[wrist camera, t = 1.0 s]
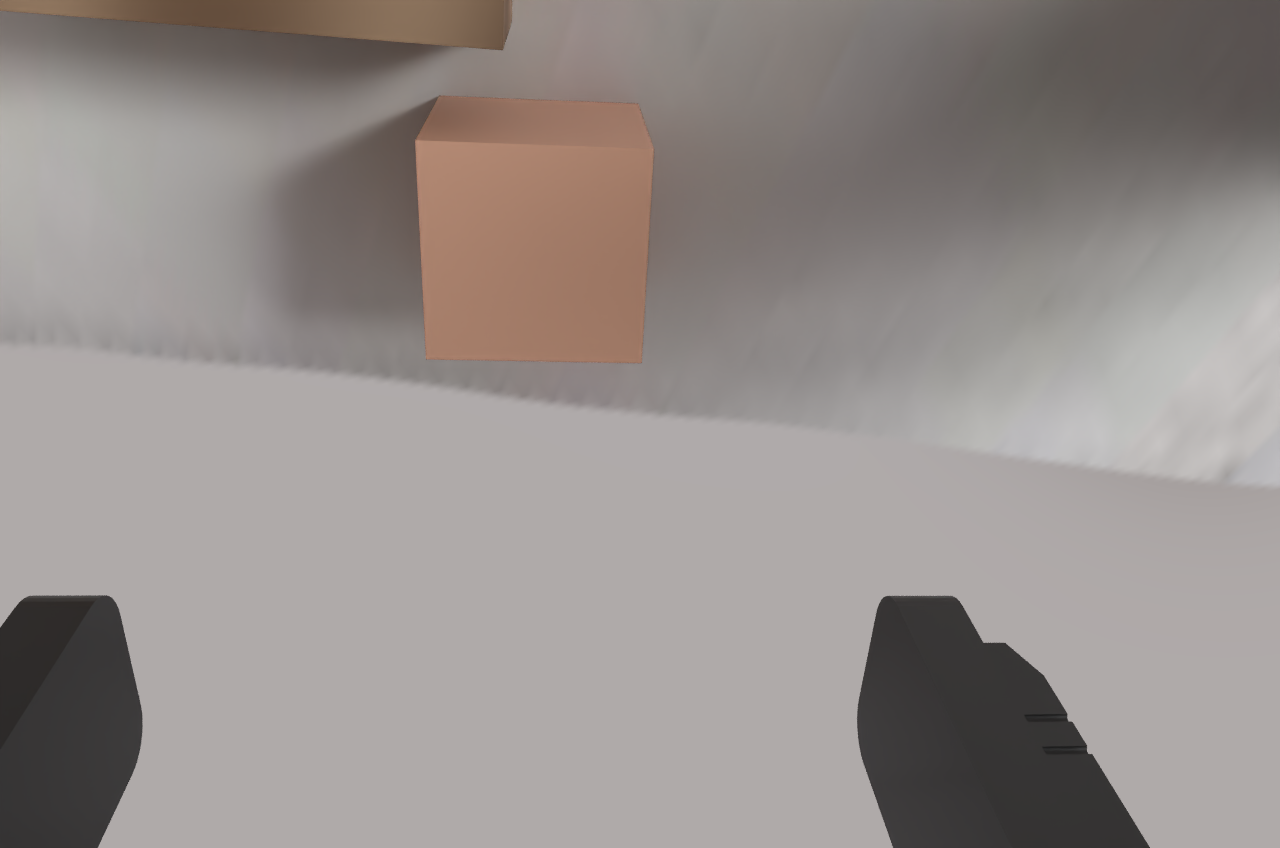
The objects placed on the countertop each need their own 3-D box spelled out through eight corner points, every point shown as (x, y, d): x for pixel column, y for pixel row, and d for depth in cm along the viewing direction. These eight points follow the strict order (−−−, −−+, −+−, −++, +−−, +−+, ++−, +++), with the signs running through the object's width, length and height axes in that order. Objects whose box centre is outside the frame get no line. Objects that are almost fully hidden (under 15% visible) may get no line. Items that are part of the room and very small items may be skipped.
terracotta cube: (638, 103, 26) (654, 149, 22) (628, 288, 29) (641, 363, 24) (439, 95, 26) (414, 140, 21) (446, 283, 28) (426, 359, 24)
